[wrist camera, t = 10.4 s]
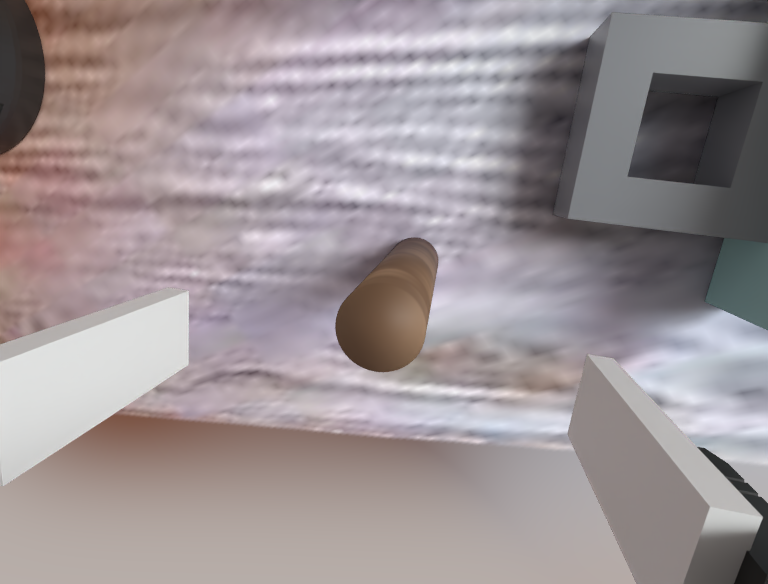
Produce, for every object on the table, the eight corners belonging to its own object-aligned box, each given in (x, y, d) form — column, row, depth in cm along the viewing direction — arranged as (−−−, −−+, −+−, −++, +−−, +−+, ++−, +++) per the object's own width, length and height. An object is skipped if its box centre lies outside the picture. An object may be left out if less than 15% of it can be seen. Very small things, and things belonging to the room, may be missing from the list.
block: (552, 214, 30) (567, 218, 26) (589, 37, 27) (612, 12, 23) (724, 235, 29) (767, 243, 25) (782, 51, 26) (839, 27, 22)
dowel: (388, 280, 33) (331, 364, 17) (393, 234, 32) (339, 278, 16) (434, 287, 32) (419, 378, 17) (441, 240, 31) (431, 292, 16)
